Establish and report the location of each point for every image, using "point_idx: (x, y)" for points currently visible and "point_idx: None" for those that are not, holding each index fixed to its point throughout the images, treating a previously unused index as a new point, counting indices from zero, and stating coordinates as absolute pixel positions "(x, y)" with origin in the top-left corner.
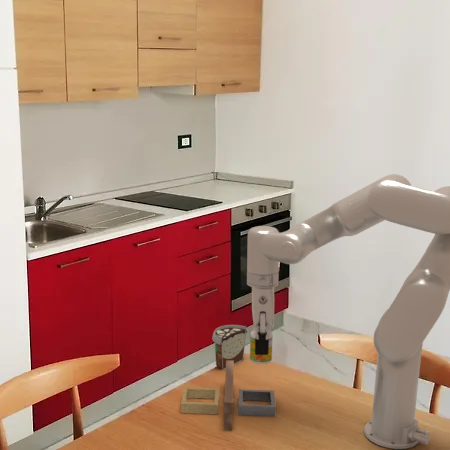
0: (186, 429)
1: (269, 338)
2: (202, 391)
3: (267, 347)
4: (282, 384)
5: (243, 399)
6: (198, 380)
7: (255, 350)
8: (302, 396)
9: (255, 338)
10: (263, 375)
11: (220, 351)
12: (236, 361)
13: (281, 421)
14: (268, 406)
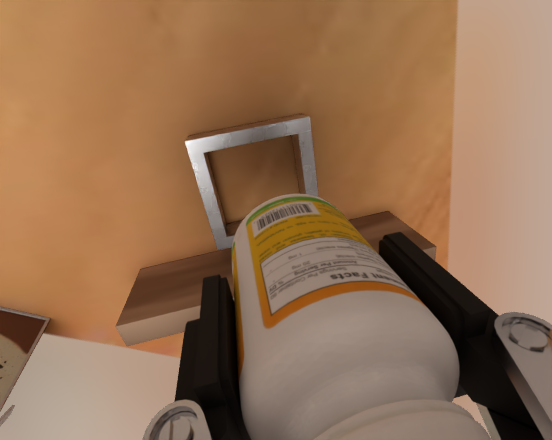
0: None
1: (420, 305)
2: None
3: (431, 264)
4: (46, 120)
5: (225, 222)
6: (152, 345)
7: None
8: (115, 24)
9: (457, 395)
10: (7, 200)
11: (18, 377)
12: None
13: (326, 89)
14: (309, 141)
